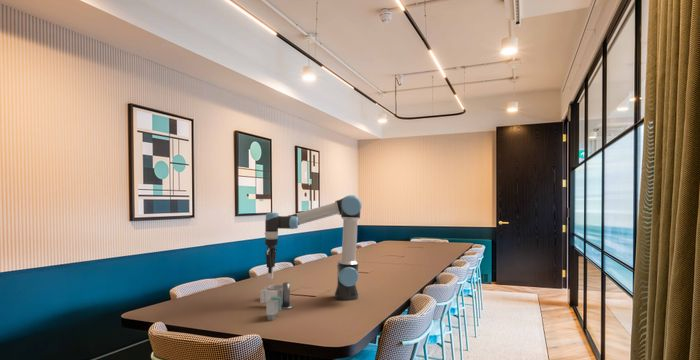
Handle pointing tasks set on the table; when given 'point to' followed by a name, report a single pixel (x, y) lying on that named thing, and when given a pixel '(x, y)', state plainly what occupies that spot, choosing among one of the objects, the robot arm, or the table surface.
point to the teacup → (274, 287)
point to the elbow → (270, 295)
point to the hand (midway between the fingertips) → (270, 278)
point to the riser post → (286, 296)
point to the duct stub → (273, 307)
